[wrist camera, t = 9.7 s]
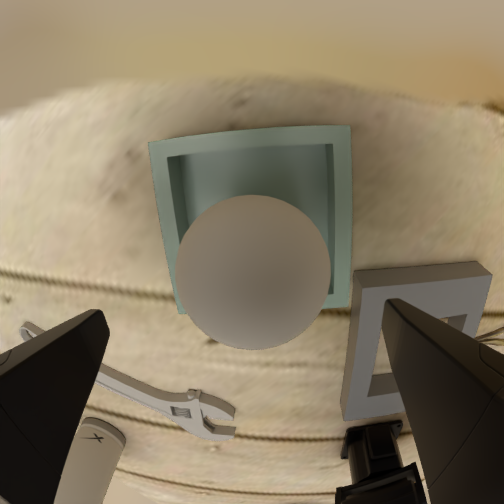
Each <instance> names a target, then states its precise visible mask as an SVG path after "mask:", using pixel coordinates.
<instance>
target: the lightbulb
mask: <svg viewBox="0 0 504 504" xmlns="http://www.w3.org/2000/svg"><path fill="white" fill-rule="evenodd" d="M330 278H331V266H330V258H329V254H328V250H327V246H326V244H325V242H324V240H323V238H322V236H321V234H320V232H319V230H318V228H317V227H316V226H315V225H314V223H313V222H312V221H311V220H310V218H309V217H307V216H306V215H305V214H304V213H303V212H301V211H300V210H299V209H298V208H296V207H294V206H292V205H290V204H289V203H287V202H285V201H282V200H279V199H276V198H272V197H269V196H261V195H244V196H235V197H232V198H229V199H226V200H223V201H220V202H218V203H217V204H215V205H213V206H211V207H209V208H208V209H206V210H205V211H204V212H203V213H202V214H201V215H200V216H199V217H197V218H196V220H195V221H194V222H193V223H192V225H191V226H190V227H189V229H188V230H187V232H186V233H185V234H184V237H183V239H182V241H181V243H180V246H179V249H178V254H177V259H176V265H175V281H176V287H177V291H178V295H179V299H180V301H181V304H182V306H183V308H184V310H185V312H186V313H187V314H188V316H189V317H190V318H191V320H192V321H193V322H194V323H195V325H196V326H197V327H198V328H199V329H200V330H202V331H203V332H204V333H205V334H206V335H208V336H209V337H211V338H212V339H214V340H215V341H218V342H220V343H222V344H224V345H227V346H230V347H234V348H238V349H246V350H260V349H268V348H272V347H276V346H279V345H281V344H284V343H286V342H288V341H290V340H292V339H293V338H295V337H296V336H298V335H299V334H301V333H302V332H303V331H304V330H305V329H307V328H308V327H309V326H310V325H311V324H312V323H313V321H314V320H315V319H316V317H317V316H318V315H319V313H320V311H321V309H322V306H323V304H324V302H325V300H326V297H327V295H328V290H329V285H330Z"/></svg>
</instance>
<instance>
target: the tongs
mask: <svg viewBox="0 0 504 504" xmlns="http://www.w3.org/2000/svg"><path fill="white" fill-rule="evenodd" d="M502 333H504V328H501V329H498V330H496V331H493V332H491V333H488V334H485V335H482V336H479V337H476V338H474V339H476V340H478V341H479V343H483V344H492V345H496V346H504V339H487V338H491V337H495V336H498V335H500V334H502ZM483 339H487V340H483Z"/></svg>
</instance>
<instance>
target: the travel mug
mask: <svg viewBox="0 0 504 504" xmlns="http://www.w3.org/2000/svg"><path fill="white" fill-rule="evenodd" d="M124 446H125V438H124V437H123V435H122V434H121V433H120V432H119V431H118V430H117V429H116V428H114V427H113V426H111V425H110V424H108V423H106V422H104V421H101V420H98V419H94V418H87V419H84V420H83V422H82V424H81V426H80V428H79V430H78V431H77V433H76V435H75V437H74V439H73V442H72V445H71V448H70V451H69V454H68V457H67V460H66V463H65V466H64V469H63V472H62V475H61V480H60V483H59V487H58V490H57V494H56V497H55V501H54V504H102V503H103V500H104V497H105V495H106V492H107V489H108V487H109V484H110V481H111V479H112V476H113V474H114V471H115V469H116V466H117V463H118V461H119V458H120V456H121V453H122V451H123V448H124Z"/></svg>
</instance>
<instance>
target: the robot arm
mask: <svg viewBox="0 0 504 504" xmlns="http://www.w3.org/2000/svg"><path fill="white" fill-rule="evenodd" d="M382 331H383V335H384V339H385V343H386V348H387V352H388V356H389V361H390V365H391V369H392V372H393V375H394V378H395V381H396V384H397V387H398V390H399V393H400V396H401V399H402V402H403V405H404V408H405V411H406V414H407V417H408V420H409V423H410V427H411V430H412V433H413V437H414V440H415V443H416V447H417V450H418V454H419V458H420V461H421V465H422V469H423V472H424V476H425V480H426V484H427V488H428V489H429V490H428V493H429V497H430V502H431V504H504V355H503V354H501V353H500V352H498V351H496V350H494V349H492V348H490V347H488V346H487V345H485V344H483V343H479V341H478V340H476V339H474V338H472V337H470V336H469V335H467V334H465V333H463V332H461V331H459V330H458V329H456V328H454V327H452V326H450V325H448V324H447V323H445V322H443V321H441V320H439V319H437V318H435V317H434V316H432V315H430V314H428V313H426V312H424V311H422V310H420V309H419V308H417V307H415V306H413V305H411V304H409V303H407V302H405V301H403V300H402V299H400V298H391V299H387V300H386V301H385V303H384V310H383V317H382ZM109 336H110V331H109V327H108V325H107V322H106V319H105V316H104V314H103V312H102V311H101V310H99V309H90V310H88V311H86V312H84V313H82V314H80V315H78V316H76V317H74V318H72V319H70V320H68V321H66V322H64V323H62V324H60V325H58V326H56V327H54V328H52V329H50V330H48V331H46V332H44V333H42V334H40V335H38V336H36V337H34V338H32V339H30V340H28V341H26V342H24V343H22V344H20V345H18V346H16V347H14V348H13V349H10V350H8V351H6V352H4V353H2V354H0V504H54V501H55V497H56V494H57V490H58V487H59V483H60V480H61V475H62V472H63V469H64V466H65V463H66V460H67V457H68V454H69V451H70V448H71V445H72V442H73V439H74V436H75V433H76V430H77V427H78V425H79V422H80V419H81V416H82V414H83V411H84V408H85V406H86V403H87V400H88V398H89V395H90V393H91V390H92V388H93V385H94V383H95V380H96V378H97V375H98V372H99V369H100V366H101V363H102V359H103V356H104V353H105V349H106V346H107V343H108V340H109ZM402 426H403V422H402V421H395V422H389V423H384V424H378V425H371V426H365V427H358V428H351V429H348V430H347V431H346V435H345V439H344V443H343V447H342V451H341V459H349V464H350V471H351V478H352V485H348V486H344V487H338V488H336V494H335V504H427V501H426V497H425V493H424V489H423V485H422V482H421V478H420V475H419V472H418V468H417V465H416V462H413V463H411V464H410V465H408V466H405V467H404V466H403V462H402V459H401V455H400V451H399V448H398V444H397V441H396V440H397V438H398V435H399V433H400V431H401V428H402ZM414 482H415V483H414Z"/></svg>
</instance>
